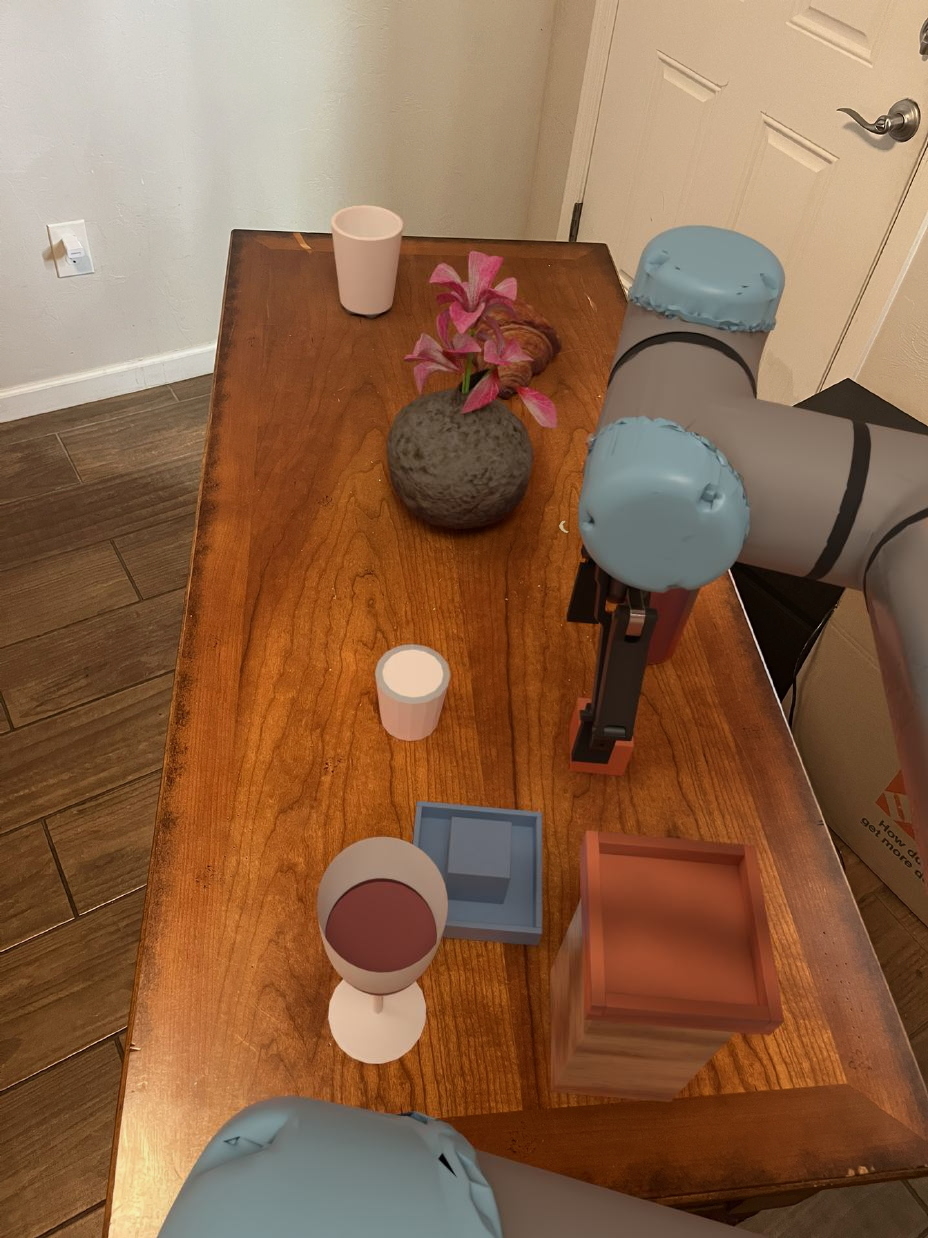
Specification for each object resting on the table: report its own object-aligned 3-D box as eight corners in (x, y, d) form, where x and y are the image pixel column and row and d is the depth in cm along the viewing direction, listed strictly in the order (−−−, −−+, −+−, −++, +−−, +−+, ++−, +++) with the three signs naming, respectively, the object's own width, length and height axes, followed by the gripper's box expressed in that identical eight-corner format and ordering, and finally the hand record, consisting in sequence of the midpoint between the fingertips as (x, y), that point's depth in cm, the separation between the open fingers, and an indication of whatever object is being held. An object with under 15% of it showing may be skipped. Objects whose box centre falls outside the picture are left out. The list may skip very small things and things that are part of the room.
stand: (685, 1118, 69) (784, 1021, 53) (537, 1106, 69) (592, 1005, 53) (671, 970, 77) (755, 845, 60) (537, 958, 76) (586, 829, 60)
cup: (414, 309, 138) (418, 225, 129) (364, 332, 133) (365, 246, 124) (368, 280, 142) (369, 197, 133) (318, 302, 137) (315, 217, 128)
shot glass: (429, 756, 88) (433, 713, 83) (362, 731, 89) (362, 687, 84) (455, 702, 92) (461, 657, 87) (391, 679, 94) (393, 633, 88)
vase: (369, 469, 114) (372, 230, 91) (504, 449, 119) (538, 218, 96) (407, 566, 104) (420, 325, 81) (553, 541, 108) (604, 306, 86)
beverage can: (636, 673, 97) (673, 572, 85) (608, 631, 100) (639, 529, 89) (685, 658, 99) (727, 557, 87) (655, 617, 102) (692, 515, 91)
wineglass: (329, 1079, 69) (321, 981, 54) (322, 962, 75) (313, 843, 60) (436, 1064, 70) (457, 963, 55) (421, 950, 76) (437, 830, 61)
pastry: (428, 340, 133) (431, 289, 127) (513, 312, 140) (519, 262, 134) (501, 403, 125) (508, 351, 119) (587, 370, 132) (598, 319, 126)
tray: (537, 946, 77) (542, 933, 75) (403, 934, 77) (405, 921, 75) (538, 825, 84) (542, 811, 82) (415, 814, 84) (417, 800, 82)
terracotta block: (622, 776, 88) (634, 747, 85) (569, 771, 88) (579, 742, 84) (619, 732, 92) (630, 702, 88) (568, 727, 92) (577, 697, 88)
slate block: (503, 904, 79) (510, 878, 75) (443, 899, 78) (447, 872, 75) (504, 850, 82) (511, 822, 78) (447, 845, 82) (451, 816, 78)
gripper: (580, 360, 66) (537, 566, 83) (596, 632, 50) (539, 823, 66) (685, 370, 67) (622, 574, 83) (735, 644, 50) (645, 831, 67)
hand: (585, 685), depth 75 cm, fingers open, 13 cm apart
